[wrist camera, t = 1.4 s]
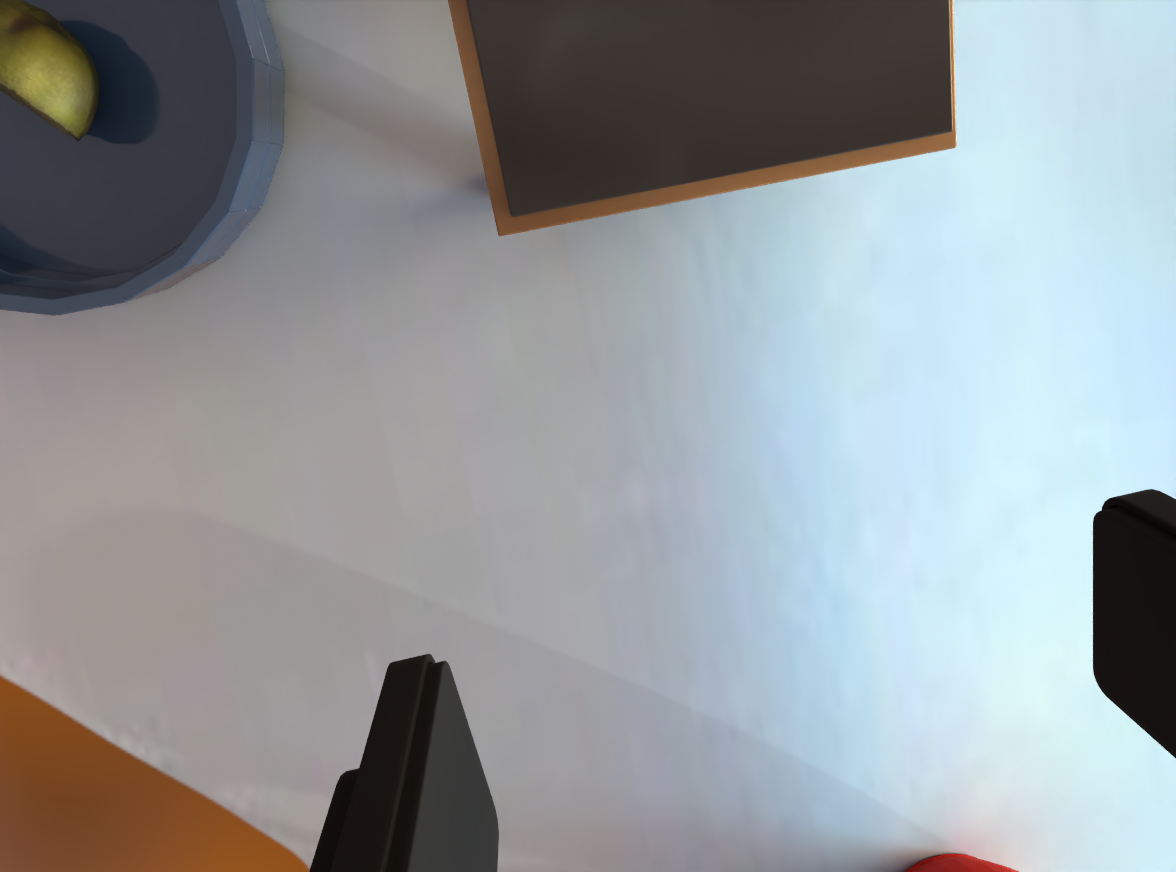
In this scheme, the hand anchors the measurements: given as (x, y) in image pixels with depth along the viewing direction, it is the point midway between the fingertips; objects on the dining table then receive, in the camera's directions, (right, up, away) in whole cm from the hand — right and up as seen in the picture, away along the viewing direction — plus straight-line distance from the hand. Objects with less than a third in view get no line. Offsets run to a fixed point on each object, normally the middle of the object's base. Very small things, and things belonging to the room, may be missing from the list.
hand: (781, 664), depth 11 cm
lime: (-22, +16, +18) cm, 33 cm away
